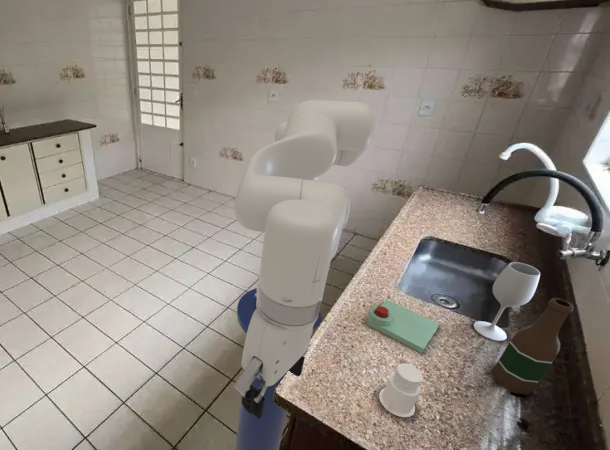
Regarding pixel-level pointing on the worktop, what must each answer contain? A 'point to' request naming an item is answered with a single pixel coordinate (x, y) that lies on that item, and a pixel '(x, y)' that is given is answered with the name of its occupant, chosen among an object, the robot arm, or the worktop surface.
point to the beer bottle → (532, 350)
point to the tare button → (381, 312)
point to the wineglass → (510, 295)
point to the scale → (403, 325)
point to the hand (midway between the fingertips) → (272, 389)
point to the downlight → (402, 391)
